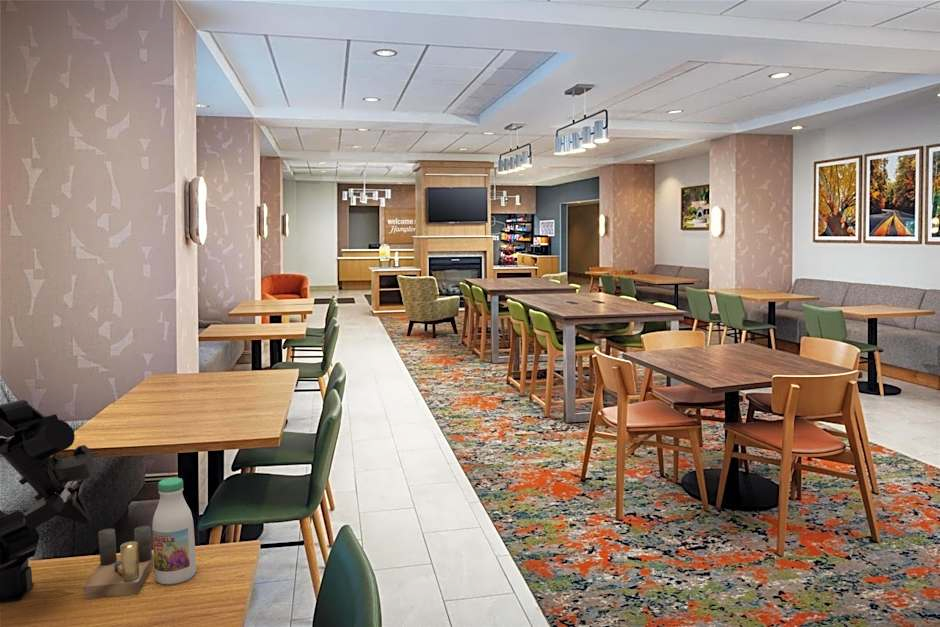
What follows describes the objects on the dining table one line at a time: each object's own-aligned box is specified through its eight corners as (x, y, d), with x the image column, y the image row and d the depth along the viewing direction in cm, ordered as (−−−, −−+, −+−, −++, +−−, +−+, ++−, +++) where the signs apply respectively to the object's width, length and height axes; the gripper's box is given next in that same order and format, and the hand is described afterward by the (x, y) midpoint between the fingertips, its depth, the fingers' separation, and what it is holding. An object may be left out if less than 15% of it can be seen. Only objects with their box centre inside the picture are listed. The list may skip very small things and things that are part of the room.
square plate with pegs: (83, 599, 134) (80, 553, 133) (104, 571, 146) (101, 529, 145) (138, 594, 136) (136, 549, 135) (155, 566, 147) (152, 524, 146)
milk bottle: (167, 567, 147) (162, 474, 145) (203, 568, 146) (198, 474, 144) (147, 584, 139) (141, 486, 137) (184, 586, 139) (179, 487, 137)
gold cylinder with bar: (114, 572, 138) (112, 540, 138) (130, 567, 141) (128, 536, 140) (126, 582, 134) (124, 549, 134) (142, 576, 137) (140, 544, 136)
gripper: (50, 467, 124) (108, 529, 129) (87, 419, 141) (137, 476, 146) (-4, 498, 124) (56, 559, 129) (39, 447, 141) (91, 503, 147)
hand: (88, 521), depth 138 cm, fingers closed
